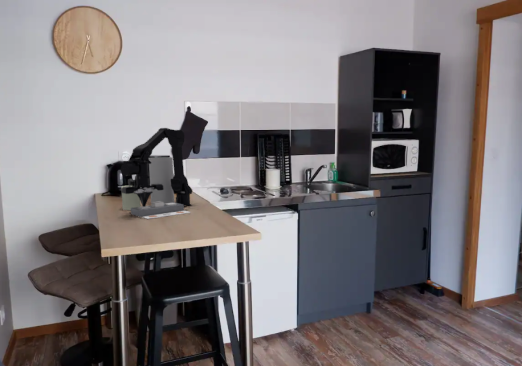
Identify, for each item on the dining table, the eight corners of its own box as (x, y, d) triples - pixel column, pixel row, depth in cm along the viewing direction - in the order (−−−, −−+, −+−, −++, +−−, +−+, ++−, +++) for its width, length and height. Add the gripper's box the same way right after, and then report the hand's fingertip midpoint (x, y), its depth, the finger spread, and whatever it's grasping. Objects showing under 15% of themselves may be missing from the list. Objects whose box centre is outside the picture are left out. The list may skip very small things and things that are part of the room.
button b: (172, 207, 222) (172, 202, 222) (176, 208, 219) (176, 203, 218) (164, 208, 219) (164, 203, 219) (168, 209, 216) (168, 204, 216)
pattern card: (184, 211, 217) (184, 210, 217) (190, 212, 212) (190, 211, 212) (142, 217, 203) (142, 216, 203) (147, 219, 198) (147, 218, 198)
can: (133, 210, 221) (132, 186, 220) (118, 209, 224) (117, 186, 223) (144, 207, 230) (143, 184, 229) (129, 206, 233) (128, 184, 232)
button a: (146, 210, 213) (146, 206, 213) (150, 212, 210) (150, 207, 210) (137, 212, 211) (137, 207, 210) (141, 213, 207) (141, 208, 207)
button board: (174, 208, 226) (174, 202, 226) (183, 210, 218) (183, 204, 218) (131, 214, 212) (130, 207, 211) (139, 217, 204) (139, 210, 203)
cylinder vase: (171, 205, 235) (169, 158, 232) (148, 205, 235) (145, 158, 232) (176, 201, 247) (174, 156, 244) (154, 201, 248) (152, 157, 245)
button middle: (159, 206, 218) (159, 201, 217) (163, 207, 214) (163, 202, 214) (151, 207, 215) (151, 202, 215) (155, 208, 211) (155, 203, 211)
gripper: (153, 171, 220) (154, 202, 222) (116, 174, 209) (118, 206, 211) (163, 172, 212) (164, 204, 213) (125, 175, 200) (127, 209, 202)
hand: (143, 206), depth 210 cm, fingers closed
